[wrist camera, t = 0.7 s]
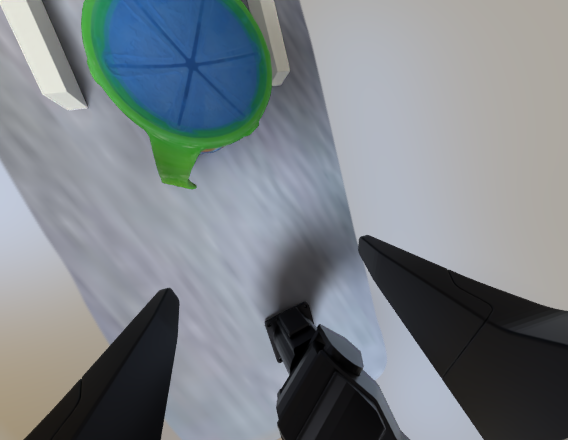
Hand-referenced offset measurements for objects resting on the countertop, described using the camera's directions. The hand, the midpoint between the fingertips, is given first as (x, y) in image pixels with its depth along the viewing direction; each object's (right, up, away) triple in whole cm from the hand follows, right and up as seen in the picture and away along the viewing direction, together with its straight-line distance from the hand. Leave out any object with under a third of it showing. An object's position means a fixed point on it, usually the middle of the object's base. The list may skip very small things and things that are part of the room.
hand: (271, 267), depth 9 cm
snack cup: (-9, +13, +12) cm, 20 cm away
